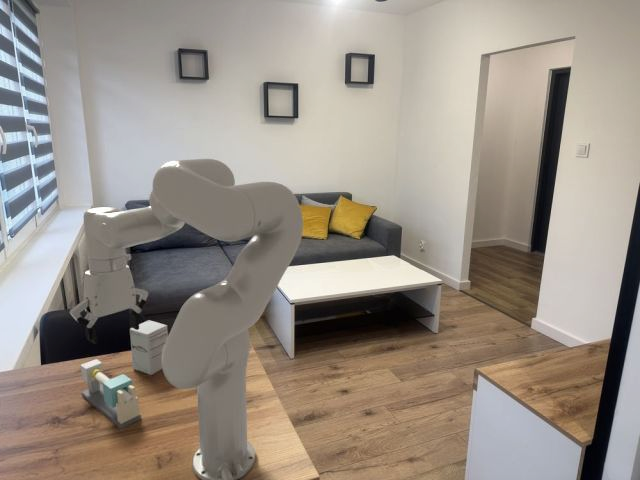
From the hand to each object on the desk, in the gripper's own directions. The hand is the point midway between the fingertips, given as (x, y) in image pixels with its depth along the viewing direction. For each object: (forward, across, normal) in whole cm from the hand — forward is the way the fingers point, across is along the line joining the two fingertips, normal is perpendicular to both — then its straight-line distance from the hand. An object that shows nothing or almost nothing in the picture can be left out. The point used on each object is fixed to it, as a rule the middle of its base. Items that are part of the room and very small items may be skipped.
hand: (114, 334), depth 102 cm
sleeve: (+16, +1, 0) cm, 17 cm away
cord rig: (+20, +1, -5) cm, 21 cm away
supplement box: (+21, -16, -15) cm, 30 cm away
